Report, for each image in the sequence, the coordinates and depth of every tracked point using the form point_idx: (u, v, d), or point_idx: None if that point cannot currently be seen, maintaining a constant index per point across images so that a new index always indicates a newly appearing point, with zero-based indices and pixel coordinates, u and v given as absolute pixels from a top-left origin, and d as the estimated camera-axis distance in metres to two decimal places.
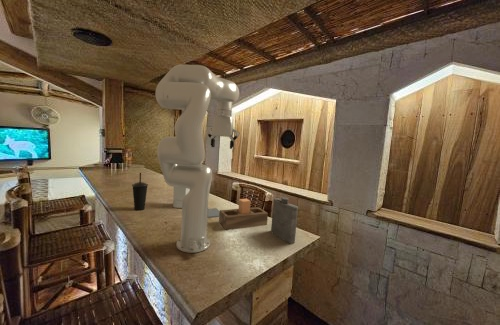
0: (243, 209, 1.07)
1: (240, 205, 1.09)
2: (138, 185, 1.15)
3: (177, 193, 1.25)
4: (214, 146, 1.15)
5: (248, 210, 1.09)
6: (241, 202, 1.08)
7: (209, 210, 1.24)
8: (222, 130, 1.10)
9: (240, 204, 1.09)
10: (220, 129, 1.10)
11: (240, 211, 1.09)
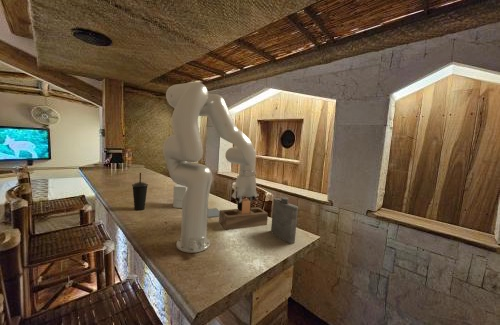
0: (243, 209, 1.07)
1: None
2: (138, 185, 1.15)
3: (177, 193, 1.25)
4: None
5: (248, 210, 1.09)
6: (241, 202, 1.08)
7: (209, 210, 1.24)
8: None
9: None
10: None
11: (240, 211, 1.09)
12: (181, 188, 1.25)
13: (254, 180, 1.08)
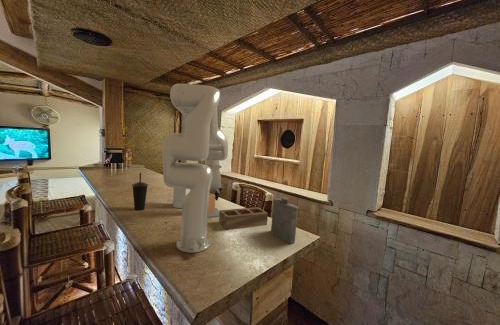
0: (208, 203, 1.18)
1: None
2: (138, 185, 1.15)
3: (177, 193, 1.25)
4: (216, 200, 1.20)
5: (213, 204, 1.19)
6: None
7: None
8: None
9: None
10: None
11: None
12: (181, 188, 1.25)
13: (218, 174, 1.18)
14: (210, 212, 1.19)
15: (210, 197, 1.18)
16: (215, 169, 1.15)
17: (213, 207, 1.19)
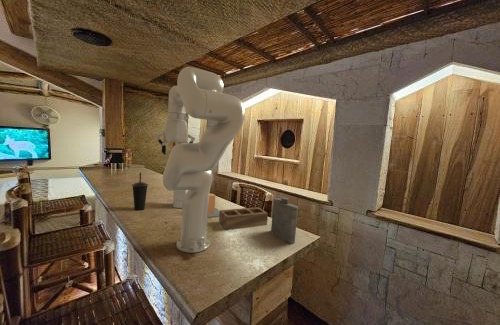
0: (208, 203, 1.18)
1: None
2: (138, 185, 1.15)
3: (177, 193, 1.25)
4: None
5: (213, 204, 1.19)
6: None
7: None
8: None
9: None
10: None
11: None
12: None
13: (184, 125, 1.01)
14: (210, 212, 1.19)
15: (210, 197, 1.18)
16: (179, 118, 0.98)
17: (213, 207, 1.19)
